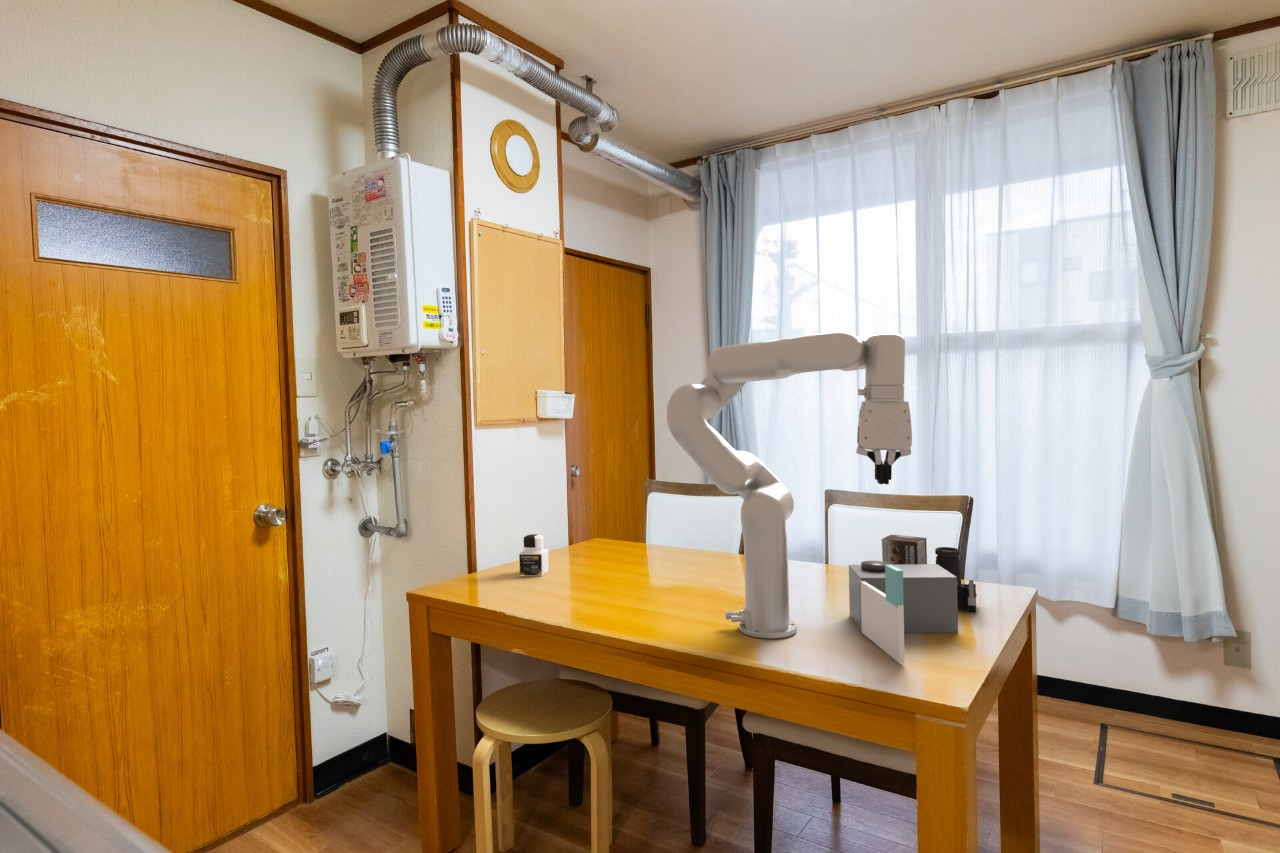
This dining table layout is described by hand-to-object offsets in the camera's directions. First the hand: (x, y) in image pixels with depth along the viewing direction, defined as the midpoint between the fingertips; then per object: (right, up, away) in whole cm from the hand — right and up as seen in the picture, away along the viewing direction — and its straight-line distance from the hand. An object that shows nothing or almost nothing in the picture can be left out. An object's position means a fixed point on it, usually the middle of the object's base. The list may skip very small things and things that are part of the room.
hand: (882, 483), depth 138 cm
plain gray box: (+9, -33, +12) cm, 36 cm away
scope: (+26, -32, +23) cm, 47 cm away
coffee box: (+16, -32, +28) cm, 46 cm away
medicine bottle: (-83, -34, +69) cm, 113 cm away
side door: (-1, -33, -2) cm, 33 cm away
